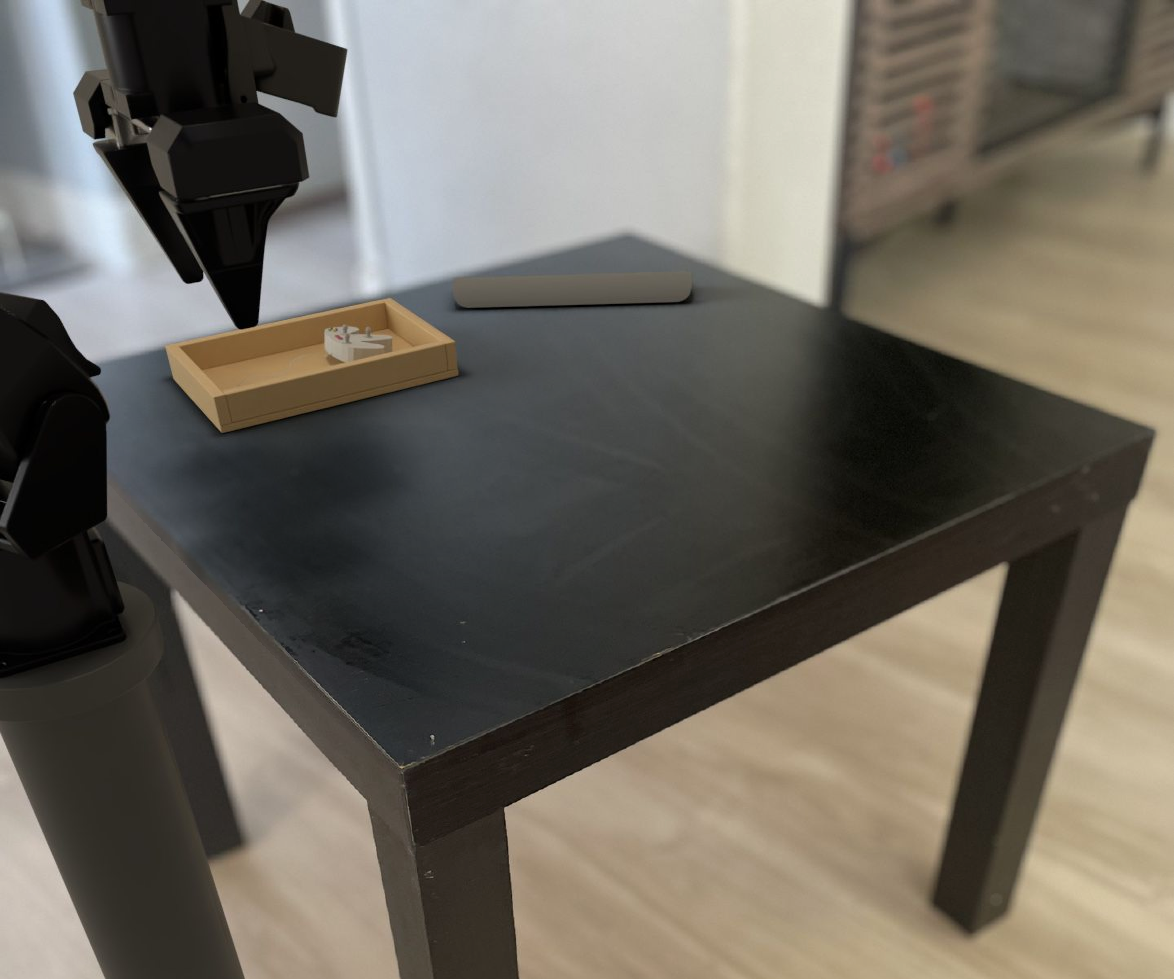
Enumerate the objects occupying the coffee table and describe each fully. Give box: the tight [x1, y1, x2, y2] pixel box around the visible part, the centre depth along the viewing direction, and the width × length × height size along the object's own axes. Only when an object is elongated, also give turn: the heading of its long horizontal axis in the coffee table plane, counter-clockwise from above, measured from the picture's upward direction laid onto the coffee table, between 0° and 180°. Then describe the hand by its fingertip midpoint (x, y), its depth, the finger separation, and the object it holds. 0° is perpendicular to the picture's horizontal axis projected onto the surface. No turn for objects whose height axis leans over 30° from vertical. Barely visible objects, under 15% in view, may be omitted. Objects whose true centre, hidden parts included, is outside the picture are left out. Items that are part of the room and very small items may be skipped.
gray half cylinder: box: [452, 270, 694, 309], centre depth 99 cm, size 4×20×2 cm, turn 89°
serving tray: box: [164, 297, 459, 434], centre depth 87 cm, size 18×12×2 cm, turn 121°
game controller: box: [238, 324, 393, 386], centre depth 87 cm, size 6×12×3 cm, turn 140°
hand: (219, 303), depth 65 cm, fingers open, 9 cm apart
